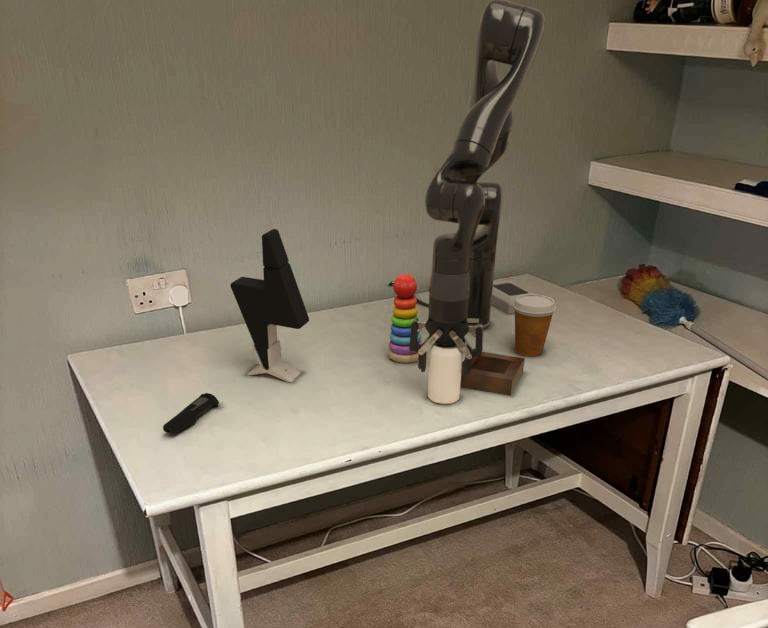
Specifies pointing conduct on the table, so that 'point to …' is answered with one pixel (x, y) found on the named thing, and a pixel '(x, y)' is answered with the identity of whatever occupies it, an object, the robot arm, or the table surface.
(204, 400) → the electric trimmer
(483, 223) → the robot arm
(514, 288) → the keypad
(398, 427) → the table surface
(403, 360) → the stacking toy
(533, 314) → the disposable coffee cup
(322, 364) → the table surface
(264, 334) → the award
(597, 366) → the table surface
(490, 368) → the can stand
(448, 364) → the can
